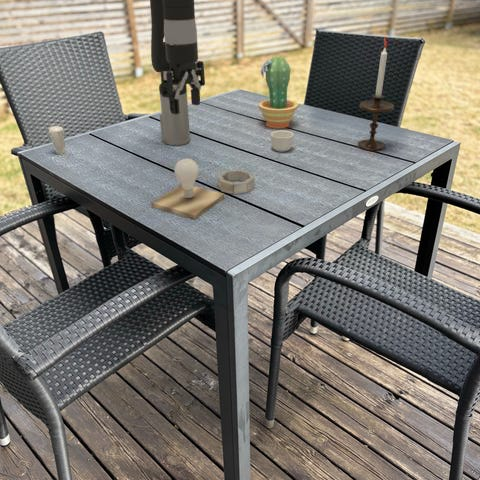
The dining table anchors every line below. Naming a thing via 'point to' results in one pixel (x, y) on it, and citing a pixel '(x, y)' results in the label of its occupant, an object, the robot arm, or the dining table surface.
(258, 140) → the dining table surface
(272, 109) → the potted cactus
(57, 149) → the milkshake
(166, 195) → the oak board
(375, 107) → the candlestick
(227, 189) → the collar
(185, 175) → the lightbulb
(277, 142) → the teacup
